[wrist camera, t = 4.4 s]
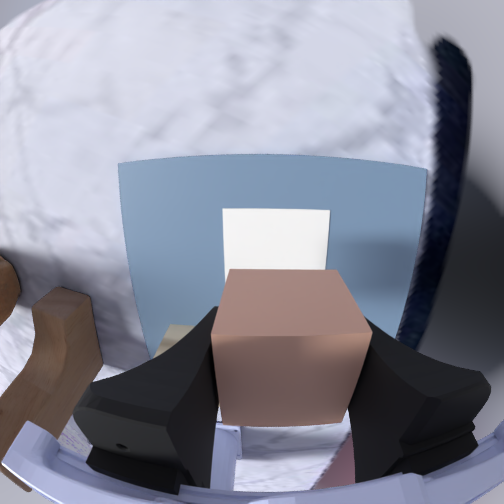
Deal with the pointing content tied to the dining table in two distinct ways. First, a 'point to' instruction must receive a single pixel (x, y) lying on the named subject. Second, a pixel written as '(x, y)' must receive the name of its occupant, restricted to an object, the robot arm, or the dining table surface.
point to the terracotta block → (287, 347)
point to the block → (7, 289)
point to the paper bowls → (74, 439)
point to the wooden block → (52, 369)
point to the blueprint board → (267, 229)
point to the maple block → (173, 337)
